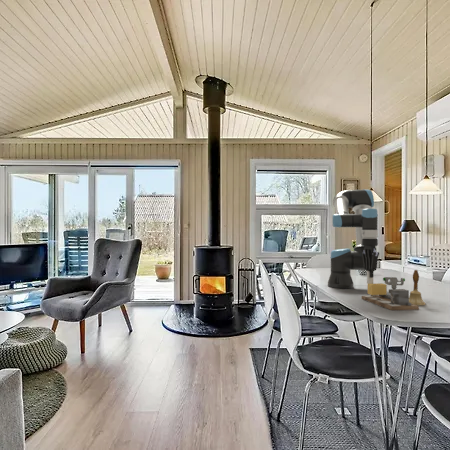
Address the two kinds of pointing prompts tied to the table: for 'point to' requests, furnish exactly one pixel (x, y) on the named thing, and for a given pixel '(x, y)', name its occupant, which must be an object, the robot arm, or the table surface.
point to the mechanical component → (393, 282)
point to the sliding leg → (377, 289)
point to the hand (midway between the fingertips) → (370, 283)
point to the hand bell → (416, 291)
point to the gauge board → (393, 300)
